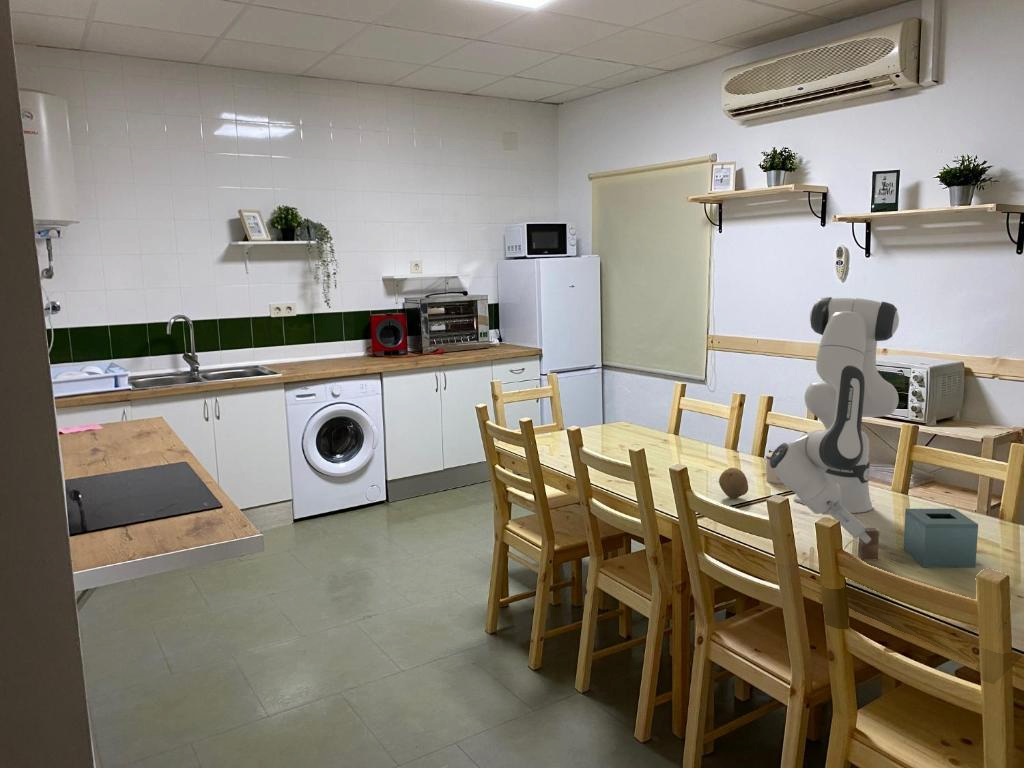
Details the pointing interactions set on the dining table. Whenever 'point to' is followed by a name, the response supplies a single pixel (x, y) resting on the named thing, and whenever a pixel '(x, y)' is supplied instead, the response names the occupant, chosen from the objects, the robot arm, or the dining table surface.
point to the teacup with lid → (771, 472)
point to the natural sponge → (733, 483)
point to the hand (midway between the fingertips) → (861, 534)
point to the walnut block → (869, 545)
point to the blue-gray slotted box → (940, 538)
